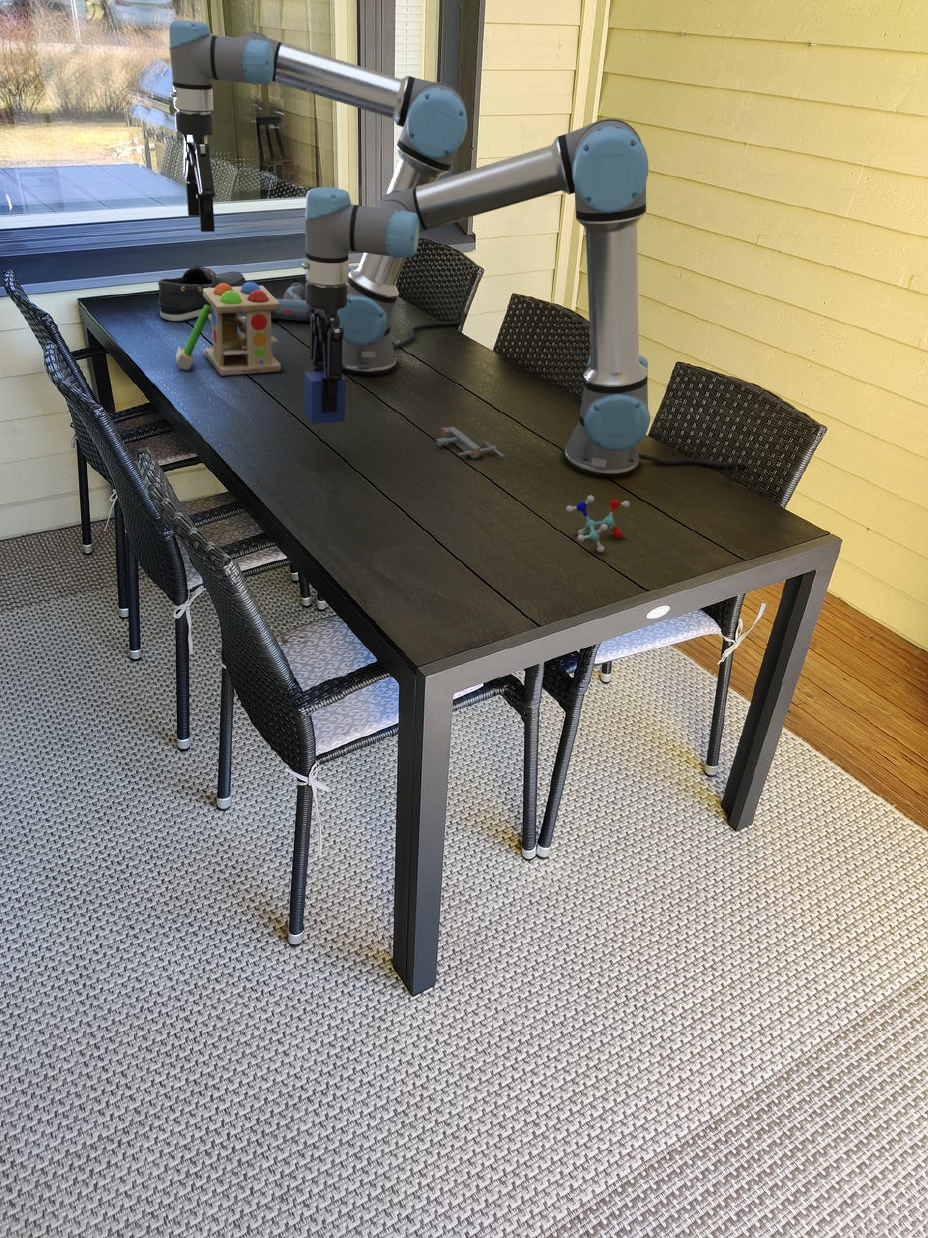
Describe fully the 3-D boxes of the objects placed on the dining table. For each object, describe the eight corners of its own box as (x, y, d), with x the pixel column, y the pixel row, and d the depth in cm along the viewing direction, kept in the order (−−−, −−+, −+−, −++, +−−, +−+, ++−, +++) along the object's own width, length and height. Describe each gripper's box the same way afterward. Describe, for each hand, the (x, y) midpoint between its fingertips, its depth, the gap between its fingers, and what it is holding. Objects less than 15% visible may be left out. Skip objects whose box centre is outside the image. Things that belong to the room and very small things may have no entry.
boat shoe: (265, 300, 274) (264, 261, 269) (177, 323, 251) (173, 281, 245) (232, 291, 280) (229, 254, 275) (142, 313, 256) (138, 272, 251)
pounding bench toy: (183, 379, 220) (176, 299, 210) (169, 357, 231) (162, 280, 221) (282, 371, 230) (280, 294, 220) (264, 350, 240) (262, 276, 230)
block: (304, 413, 189) (304, 371, 185) (337, 411, 192) (337, 369, 187) (311, 423, 186) (311, 381, 181) (344, 421, 188) (345, 379, 184)
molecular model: (629, 546, 167) (611, 490, 165) (576, 561, 170) (559, 506, 169) (639, 535, 177) (623, 482, 176) (590, 549, 181) (573, 498, 179)
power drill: (344, 304, 276) (335, 327, 259) (277, 298, 275) (264, 321, 258) (344, 285, 273) (335, 306, 256) (277, 279, 272) (264, 300, 255)
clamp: (428, 429, 204) (470, 423, 208) (427, 439, 205) (469, 432, 209) (464, 459, 193) (507, 451, 198) (463, 469, 194) (506, 461, 199)
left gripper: (163, 100, 203) (172, 209, 215) (186, 121, 185) (194, 238, 197) (200, 102, 206) (207, 209, 218) (226, 122, 187) (232, 237, 199)
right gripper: (292, 268, 180) (293, 389, 193) (320, 298, 166) (319, 426, 180) (331, 267, 183) (330, 387, 196) (362, 296, 169) (358, 422, 182)
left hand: (201, 223), depth 207 cm, fingers open, 13 cm apart
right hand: (325, 405), depth 188 cm, fingers closed on block, 5 cm apart
